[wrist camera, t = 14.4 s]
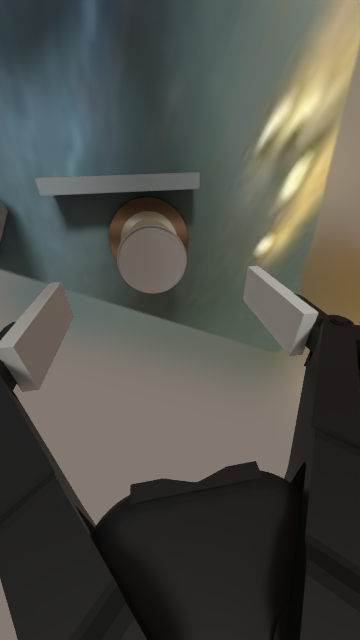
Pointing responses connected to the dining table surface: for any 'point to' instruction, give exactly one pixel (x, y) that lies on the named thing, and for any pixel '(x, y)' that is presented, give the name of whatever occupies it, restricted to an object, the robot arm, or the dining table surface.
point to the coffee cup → (151, 257)
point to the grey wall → (117, 183)
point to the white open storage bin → (2, 218)
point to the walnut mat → (145, 210)
